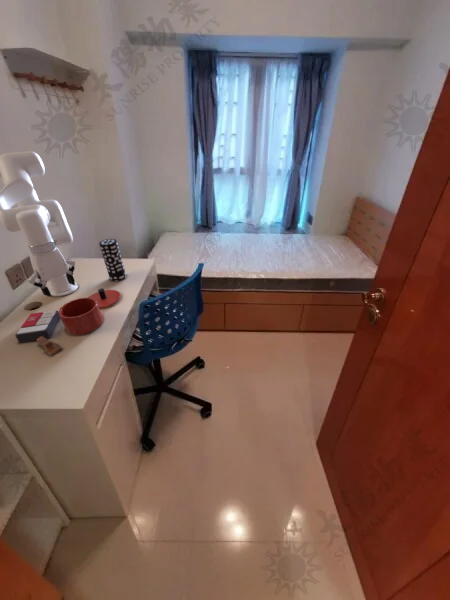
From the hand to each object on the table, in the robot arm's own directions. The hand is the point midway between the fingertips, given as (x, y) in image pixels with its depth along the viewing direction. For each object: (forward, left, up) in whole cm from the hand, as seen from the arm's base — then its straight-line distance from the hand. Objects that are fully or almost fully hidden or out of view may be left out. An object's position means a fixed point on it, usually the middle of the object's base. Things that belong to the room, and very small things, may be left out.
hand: (60, 289), depth 106 cm
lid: (-5, +18, -16) cm, 25 cm away
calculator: (-10, -9, -17) cm, 22 cm away
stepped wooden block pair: (+4, -14, -17) cm, 22 cm away
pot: (+3, +2, -17) cm, 17 cm away
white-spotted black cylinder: (-17, +36, -17) cm, 43 cm away
